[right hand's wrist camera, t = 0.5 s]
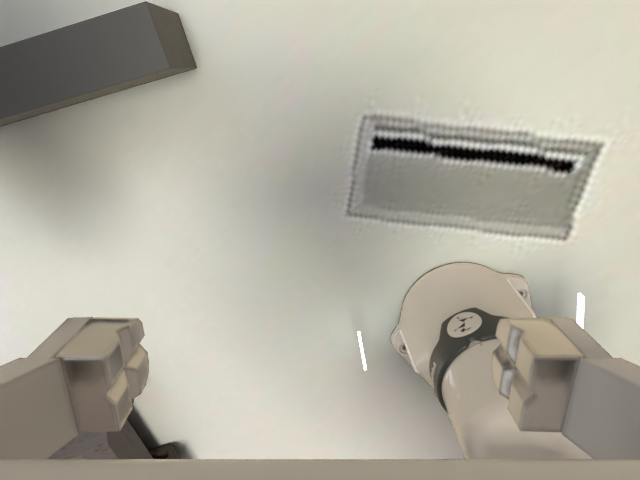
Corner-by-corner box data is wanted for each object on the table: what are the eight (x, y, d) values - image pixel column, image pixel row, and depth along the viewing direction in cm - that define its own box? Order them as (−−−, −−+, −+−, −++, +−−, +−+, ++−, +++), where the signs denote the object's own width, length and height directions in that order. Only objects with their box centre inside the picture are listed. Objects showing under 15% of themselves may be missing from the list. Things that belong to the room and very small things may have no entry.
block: (178, 12, 45) (146, 1, 37) (197, 67, 47) (170, 68, 39) (-65, 88, 48) (-146, 93, 39) (-38, 137, 50) (-109, 151, 41)
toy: (132, 353, 60) (76, 440, 46) (197, 457, 67) (165, 560, 53) (-25, 405, 63) (-122, 501, 49) (53, 499, 70) (-13, 607, 56)
